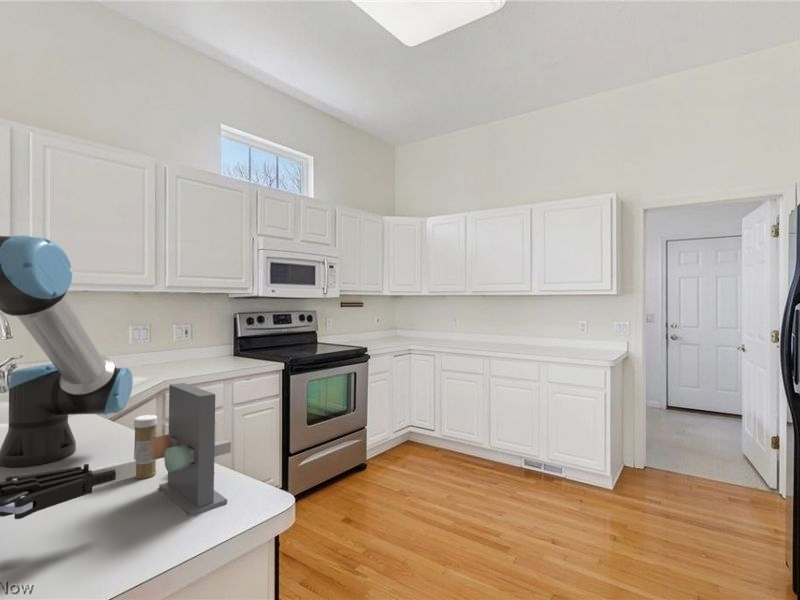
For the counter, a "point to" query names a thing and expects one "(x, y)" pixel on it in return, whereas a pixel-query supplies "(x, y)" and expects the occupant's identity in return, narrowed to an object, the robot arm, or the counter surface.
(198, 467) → the button panel
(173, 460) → the sage button
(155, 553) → the counter surface
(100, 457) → the counter surface
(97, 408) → the robot arm
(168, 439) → the rust button
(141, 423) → the spice jar
